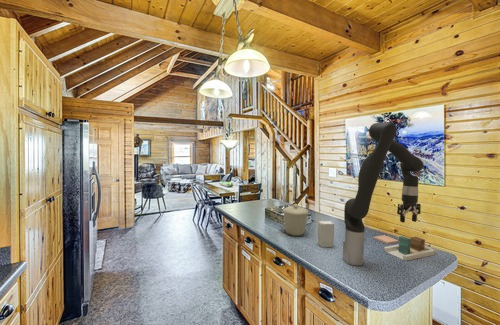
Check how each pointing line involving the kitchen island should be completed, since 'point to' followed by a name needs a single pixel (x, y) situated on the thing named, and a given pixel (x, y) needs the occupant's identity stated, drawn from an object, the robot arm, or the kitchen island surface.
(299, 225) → the canister
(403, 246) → the l-shaped stand
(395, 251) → the cream tray
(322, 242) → the skincare box
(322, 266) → the kitchen island surface
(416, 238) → the block
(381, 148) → the robot arm
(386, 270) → the kitchen island surface
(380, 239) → the plate
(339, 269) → the kitchen island surface
